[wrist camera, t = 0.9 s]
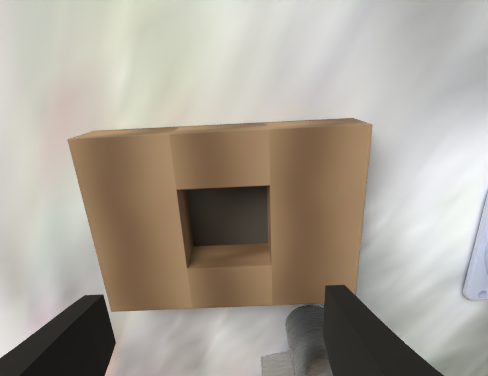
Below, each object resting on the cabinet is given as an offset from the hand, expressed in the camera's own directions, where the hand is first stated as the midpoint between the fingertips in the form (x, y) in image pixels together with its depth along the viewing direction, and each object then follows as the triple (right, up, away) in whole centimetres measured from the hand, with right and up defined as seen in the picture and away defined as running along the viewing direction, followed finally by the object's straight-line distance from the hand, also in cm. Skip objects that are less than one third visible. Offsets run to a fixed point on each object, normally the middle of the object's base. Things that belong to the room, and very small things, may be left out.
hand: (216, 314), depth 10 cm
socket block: (0, +3, +8) cm, 8 cm away
